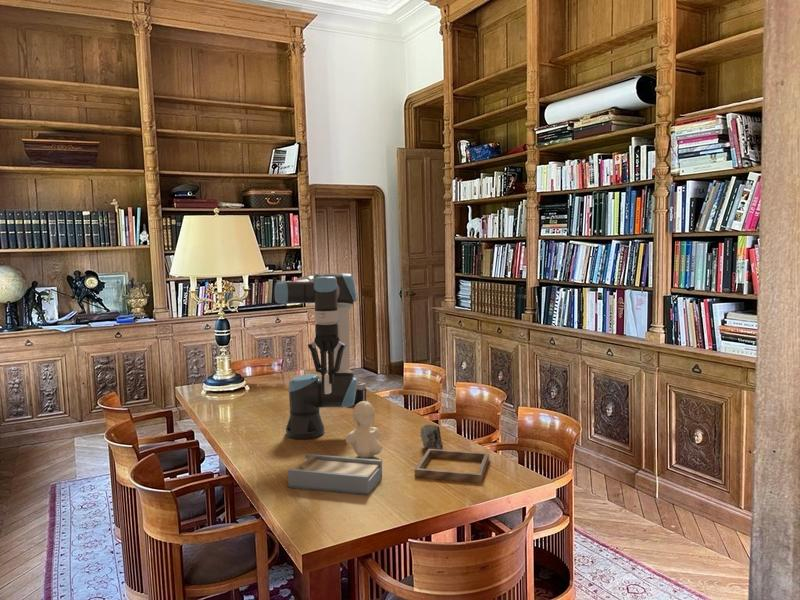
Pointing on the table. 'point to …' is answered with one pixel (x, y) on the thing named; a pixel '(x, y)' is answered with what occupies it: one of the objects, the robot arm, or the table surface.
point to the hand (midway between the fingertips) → (328, 393)
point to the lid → (338, 467)
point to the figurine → (364, 431)
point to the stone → (431, 437)
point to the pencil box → (335, 477)
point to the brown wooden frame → (452, 474)
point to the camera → (360, 392)
